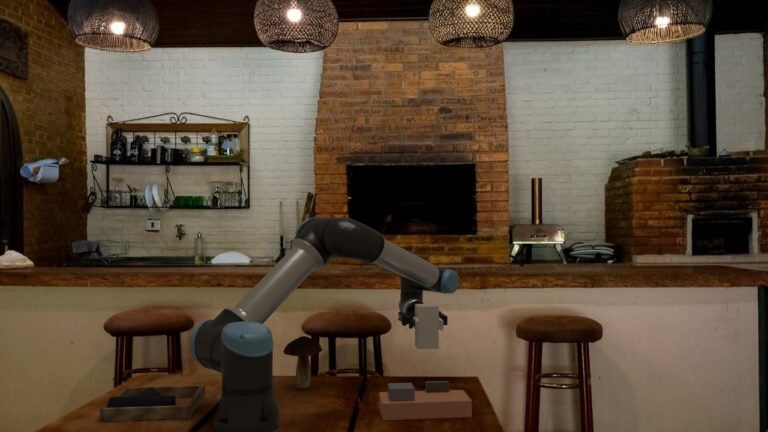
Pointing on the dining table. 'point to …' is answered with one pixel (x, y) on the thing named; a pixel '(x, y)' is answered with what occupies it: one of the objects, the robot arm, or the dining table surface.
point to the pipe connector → (143, 399)
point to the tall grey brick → (427, 326)
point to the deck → (423, 402)
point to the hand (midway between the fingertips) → (430, 325)
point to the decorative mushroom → (303, 358)
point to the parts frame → (155, 411)
